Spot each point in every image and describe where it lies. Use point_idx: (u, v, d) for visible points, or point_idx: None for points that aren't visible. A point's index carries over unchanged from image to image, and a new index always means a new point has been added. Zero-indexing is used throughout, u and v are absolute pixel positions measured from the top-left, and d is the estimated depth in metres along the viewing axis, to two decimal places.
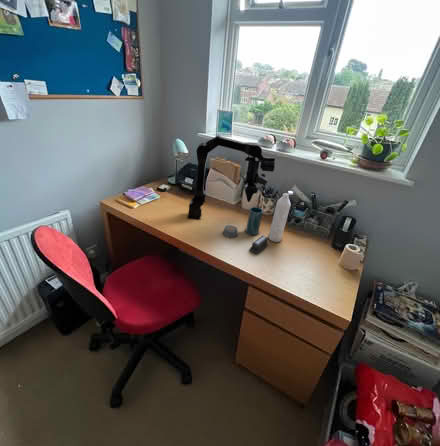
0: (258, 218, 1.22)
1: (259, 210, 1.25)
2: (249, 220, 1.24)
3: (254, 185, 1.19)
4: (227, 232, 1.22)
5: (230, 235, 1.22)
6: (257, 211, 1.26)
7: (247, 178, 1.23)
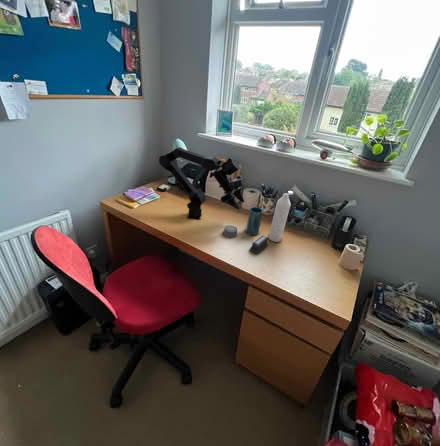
0: (258, 218, 1.22)
1: (259, 210, 1.25)
2: (249, 220, 1.24)
3: (227, 192, 1.16)
4: (227, 232, 1.22)
5: (230, 235, 1.22)
6: (257, 211, 1.26)
7: None
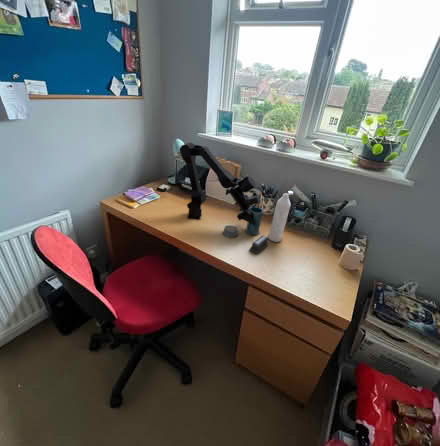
0: (258, 218, 1.22)
1: (259, 210, 1.25)
2: None
3: (244, 210, 1.17)
4: (227, 232, 1.22)
5: (230, 235, 1.22)
6: (257, 211, 1.26)
7: (239, 206, 1.23)
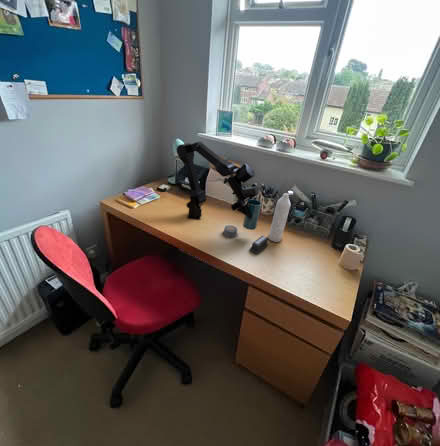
0: (255, 211, 1.13)
1: (258, 203, 1.16)
2: None
3: (238, 200, 1.10)
4: (227, 232, 1.22)
5: (230, 235, 1.22)
6: (256, 204, 1.17)
7: (237, 197, 1.15)
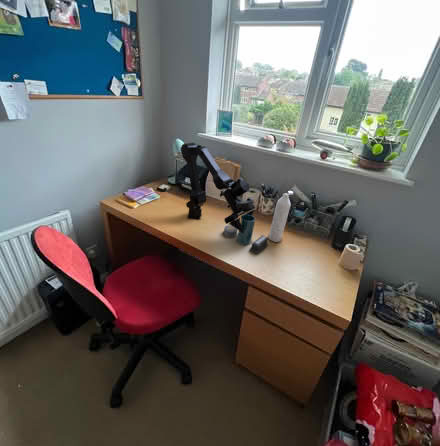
0: (248, 227, 1.13)
1: (252, 219, 1.16)
2: None
3: (231, 214, 1.11)
4: (227, 232, 1.22)
5: (230, 235, 1.22)
6: (251, 219, 1.18)
7: (232, 210, 1.17)
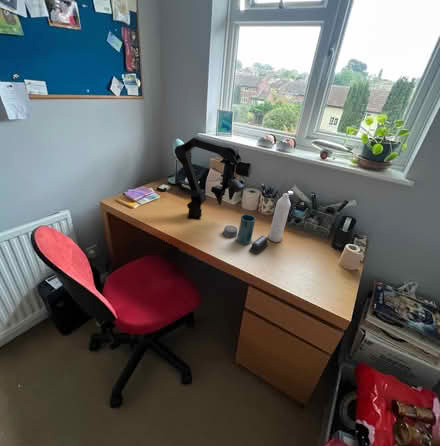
0: (248, 227, 1.13)
1: (252, 219, 1.16)
2: (239, 227, 1.16)
3: (220, 187, 1.16)
4: (227, 232, 1.22)
5: (230, 235, 1.22)
6: (251, 219, 1.18)
7: (222, 180, 1.21)
